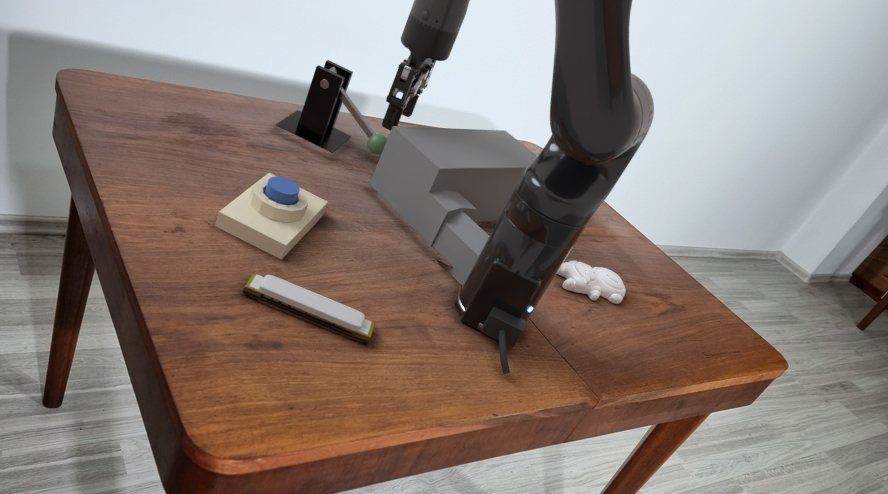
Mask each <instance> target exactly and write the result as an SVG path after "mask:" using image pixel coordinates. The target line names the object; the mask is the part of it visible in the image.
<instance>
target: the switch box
mask: <svg viewBox="0 0 888 494" xmlns="http://www.w3.org/2000/svg"><path fill="white" fill-rule="evenodd" d="M276 176H277V175H275V174H273V173H271V172H268V173H267V174H265V175H264V176H263V177H261V178H260V179H259V180H258V181H256V182H255V183H254V184H252V185H251V186H249V187H248V188H247V189H246V190H245V191H243V192H241V194H240V195H238V196H237V197H236V198H234V199H233V200H232V201H231V202H229V203H228V204H227V205H225V206H224V207H223V208H222V209H220V210H219V211H218V214H217V218H216V221H215V225H214V227H215V228H218V229H220V230H222V231H224V232H226V233H228V234H230V235H231V236H233V237H236V238H237V239H240V240H242V241H243V242H245V243H247V244H249V245H251V246H253V247H255V248H257V249H259V250H262V251H263V252H265V253H267V254H269V255H272V256H274V257H275V258H277V259H280V260H283V259H284V258H285V257H286V255H288V253H289V252H291V251H292V250H293V248H294V247H296V245H297V244H298V243H299V242H300V241H301V240H303V238H304V237H305V236H306V234H308V233H309V231H310V230H311V229H313V227H314V226H315V225H316V224H317V223H318V222H319V221H320V219H322V218H323V216H324V215H325V212H326V210H327V208H328V205H329V201H327V200H325V199H324V198H322V197H319V196H317V195H315V194H314V193H311V192H309V191H307V190H305V189H304V188H301V187H299V189H300V191H299V194H298V197H297V200H296V202H295V204H294V205H283V204H278V203H276V202H274V201H272V200H270V199H269V198H268V197H267V196H266V195H265V189H266V186H267V183H268V180H269V179H270V178H271V177H276Z"/></svg>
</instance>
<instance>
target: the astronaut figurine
mask: <svg viewBox="0 0 888 494" xmlns="http://www.w3.org/2000/svg"><path fill="white" fill-rule="evenodd" d="M556 275H558V276H561V277H563V278H565V280H564V281H563V283H562V285H561V286H562V288H563V289H564V290H566V291H570V292H573V293H577V294H584V295H587V297H588V298H589V299H590V300H591V301H595V302H596V301H597V300H598V299H599V297H602V298H604V299H606V300H607V301H608V302H610V303H612V304H616V305H619V304H621V302H623V299H624V297H625V295H626V291H627V290H626V286H625V283H624V281H623V280H622V278H621V277H620V276H619V274H618V273H616V272H614V271H613V270H611V269H609V268H606V267H601V266H600V267H599V266H594V267H592V266H591V265H589V264H587V263H585V262H582V261H577V260H569V261H564V262H563V264H562V265H561V267H560V269H559V270H558V272H557V274H556Z"/></svg>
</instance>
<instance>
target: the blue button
mask: <svg viewBox="0 0 888 494" xmlns="http://www.w3.org/2000/svg"><path fill="white" fill-rule="evenodd" d="M275 176H276V177H271V178H270V179H269V180H268V183H267V186H266V189H265V195H266V196H267V197H268V198H269V199H270V200H272V201H274V202H276V203H278V204H283V205H294V204H295V202H296V200H297V197H298V194H299V191H300V189H299V188H300V186H299V185H298V184H297V183H296V182H295V181H293V180H291V179H289V178H287V177H283V176H277V175H275Z"/></svg>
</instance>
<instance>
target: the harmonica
mask: <svg viewBox="0 0 888 494" xmlns="http://www.w3.org/2000/svg"><path fill="white" fill-rule="evenodd" d="M242 294H244V295H246V296H249V297H251V298H253V299H256V300H257V301H258V302H260V303H262V304H264V305H266V306H269V307H272V308H274V309H276V310H278V311H281V312H283V313H286V314H288V315H291V316H293V317H296V318H298V319H300V320H303V321H306V322H308V323H310V324H312V325H315V326H317V327H320V328H323V329H325V330H328V331H330V332H332V333H334V334H337V335H340V336H342V337H345V338H347V339H351V340H352V339H353V340H356V341H358V342H361V343H363V344H366V345H368V344H369V343H370V340H371V338H372V336H373V335H372V334H373V333H374V332H373V331H374V329H375V325H376V323H375V322H373V320H369V319H367V318H365V317H366V314H364V313H363V312H362V311H360V310H357V309H355V308H353V307H351V306H348V305H347V304H343V303H341V302H338V301H336V300H333V299H331V298H330V297H329V298H328V297H326V296H324V295H321V294H319V293H317V292H313V291H312V290H310V289H307V288H304V287H302V286H299V285H297V284H295V283H292V282H290V281H287V280H285V279H283V278H280V277H278V276H275V275H271V274H265V275H264V276H262V275H260V274H258V273H254V272H253V273H252V274H251V276H250V277H249V278H248V280H247V281H246V284H245V285H244V287H243V290H242Z"/></svg>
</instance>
